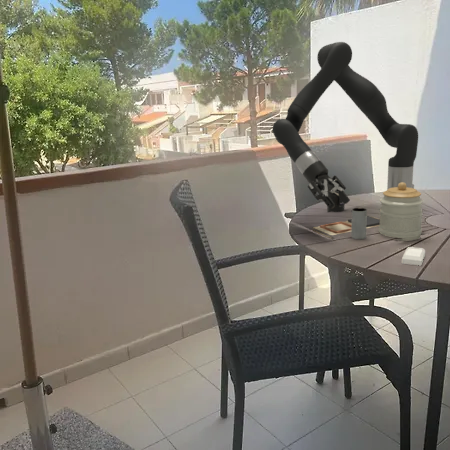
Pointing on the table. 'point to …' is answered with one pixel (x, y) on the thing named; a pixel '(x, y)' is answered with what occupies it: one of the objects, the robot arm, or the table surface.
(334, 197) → the supplement bottle
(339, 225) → the board
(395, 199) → the jar
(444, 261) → the table surface
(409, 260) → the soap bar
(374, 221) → the pad
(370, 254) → the table surface
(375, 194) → the table surface
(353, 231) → the grey tumbler
